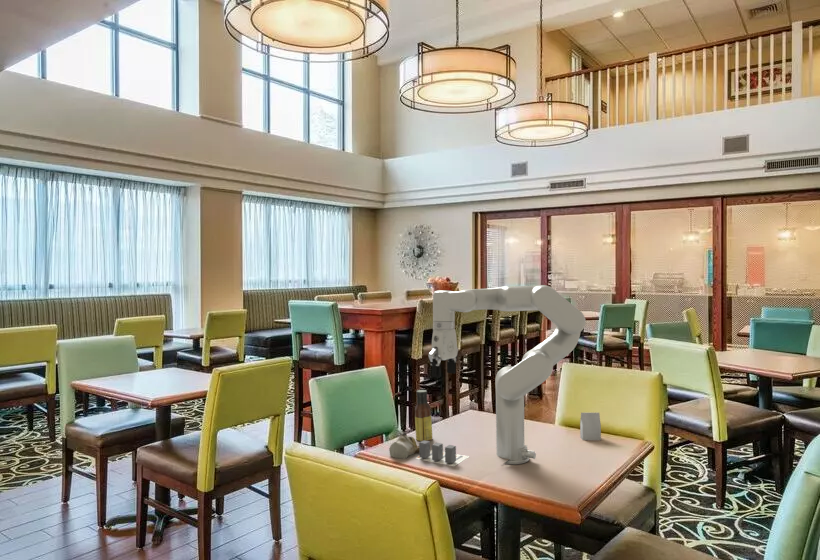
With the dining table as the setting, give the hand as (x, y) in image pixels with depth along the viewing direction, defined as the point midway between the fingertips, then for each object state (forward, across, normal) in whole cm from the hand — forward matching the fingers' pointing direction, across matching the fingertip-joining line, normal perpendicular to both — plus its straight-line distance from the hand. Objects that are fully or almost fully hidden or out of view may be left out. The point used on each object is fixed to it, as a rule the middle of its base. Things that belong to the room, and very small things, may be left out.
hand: (443, 375), depth 197 cm
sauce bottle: (+29, +9, +15) cm, 34 cm away
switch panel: (+29, -5, -2) cm, 29 cm away
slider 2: (+27, -8, -3) cm, 28 cm away
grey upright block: (+28, +49, -35) cm, 66 cm away
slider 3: (+27, -8, -8) cm, 29 cm away
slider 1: (+27, -8, +2) cm, 29 cm away
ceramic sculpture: (+29, -7, +11) cm, 32 cm away
